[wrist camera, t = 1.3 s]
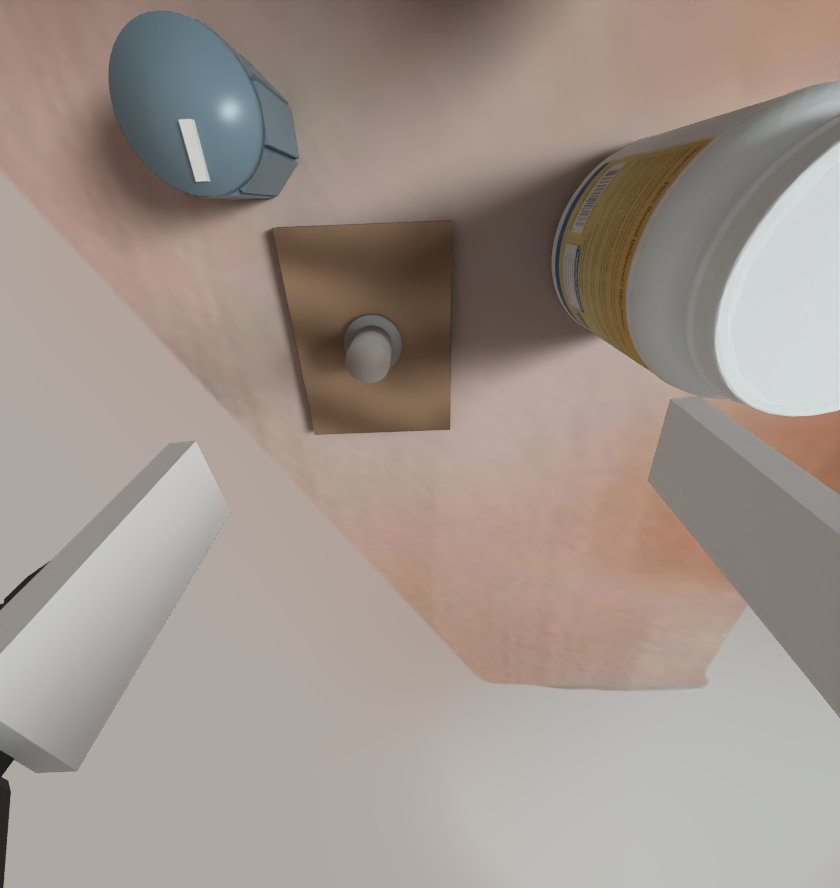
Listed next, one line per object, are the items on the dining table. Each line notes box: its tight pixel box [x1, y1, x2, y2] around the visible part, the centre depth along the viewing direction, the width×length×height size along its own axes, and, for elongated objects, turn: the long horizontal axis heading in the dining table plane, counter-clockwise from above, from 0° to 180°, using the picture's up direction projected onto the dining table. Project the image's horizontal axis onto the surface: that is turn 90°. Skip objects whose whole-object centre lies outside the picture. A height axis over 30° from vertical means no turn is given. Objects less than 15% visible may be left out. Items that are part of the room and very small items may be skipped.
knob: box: [109, 11, 299, 200], centre depth 21 cm, size 7×7×7 cm
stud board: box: [272, 220, 451, 435], centre depth 28 cm, size 16×12×6 cm
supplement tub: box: [552, 81, 840, 416], centre depth 20 cm, size 12×12×17 cm
